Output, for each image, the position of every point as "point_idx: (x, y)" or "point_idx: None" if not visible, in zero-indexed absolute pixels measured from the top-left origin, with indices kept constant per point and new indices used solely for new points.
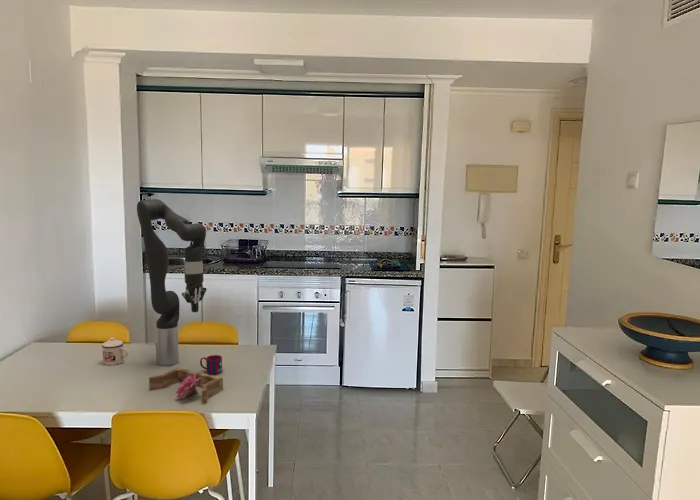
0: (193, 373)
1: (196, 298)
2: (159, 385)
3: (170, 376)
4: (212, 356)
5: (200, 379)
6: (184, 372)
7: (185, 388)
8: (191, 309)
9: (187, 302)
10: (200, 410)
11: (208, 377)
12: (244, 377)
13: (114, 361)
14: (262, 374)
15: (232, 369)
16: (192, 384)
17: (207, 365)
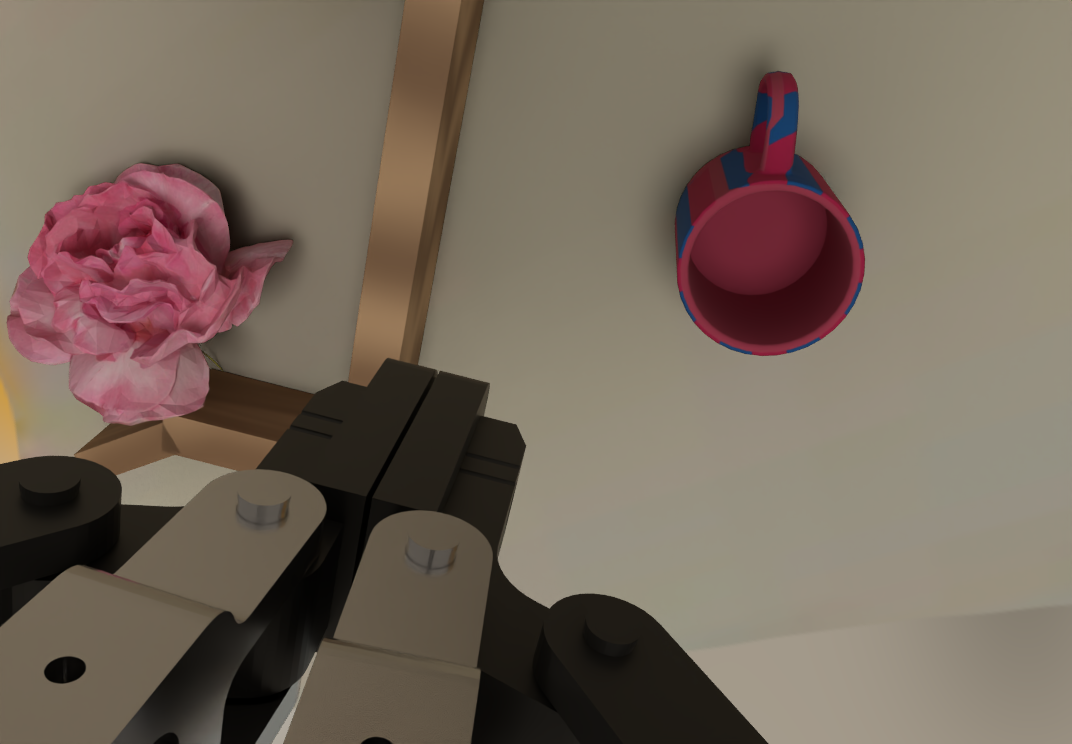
0: (376, 207)
1: (499, 688)
2: None
3: None
4: (836, 218)
5: (159, 408)
6: (394, 83)
7: (13, 333)
8: (313, 402)
9: (29, 463)
10: (36, 443)
11: (349, 381)
12: (683, 522)
13: None
14: (778, 631)
15: (859, 360)
16: (70, 373)
17: (690, 204)
